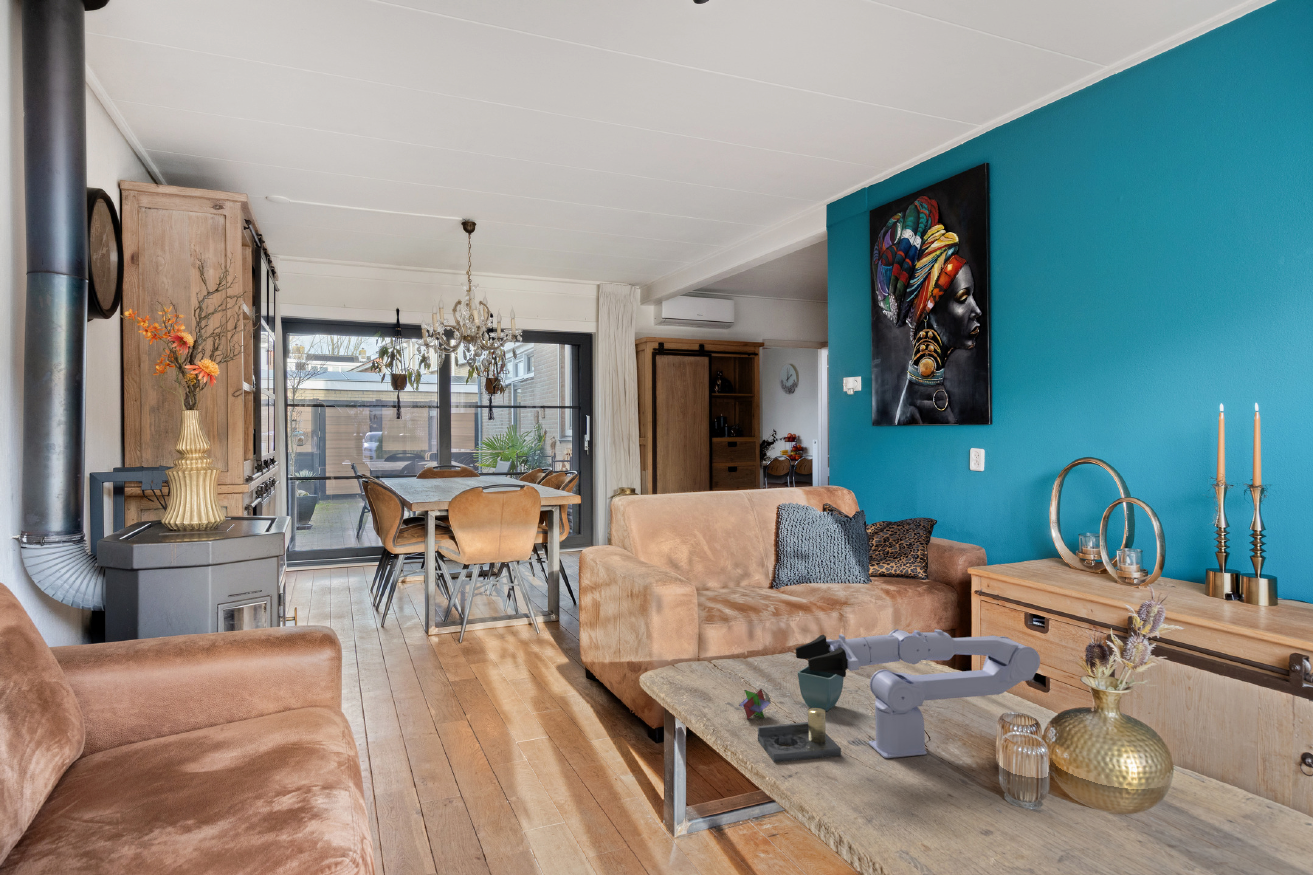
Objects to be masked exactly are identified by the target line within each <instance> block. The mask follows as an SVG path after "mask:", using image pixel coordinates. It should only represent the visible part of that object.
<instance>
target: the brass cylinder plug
mask: <svg viewBox="0 0 1313 875" xmlns="http://www.w3.org/2000/svg"><path fill="white" fill-rule="evenodd" d="M807 719H808V721H807V722H808V736H809V740H810V741H812V742H824V741H825V740H826V734H827V732H826V730H827V729H826V711H825V710H823V709H820V708H809V709H808V710H807Z"/></svg>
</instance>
